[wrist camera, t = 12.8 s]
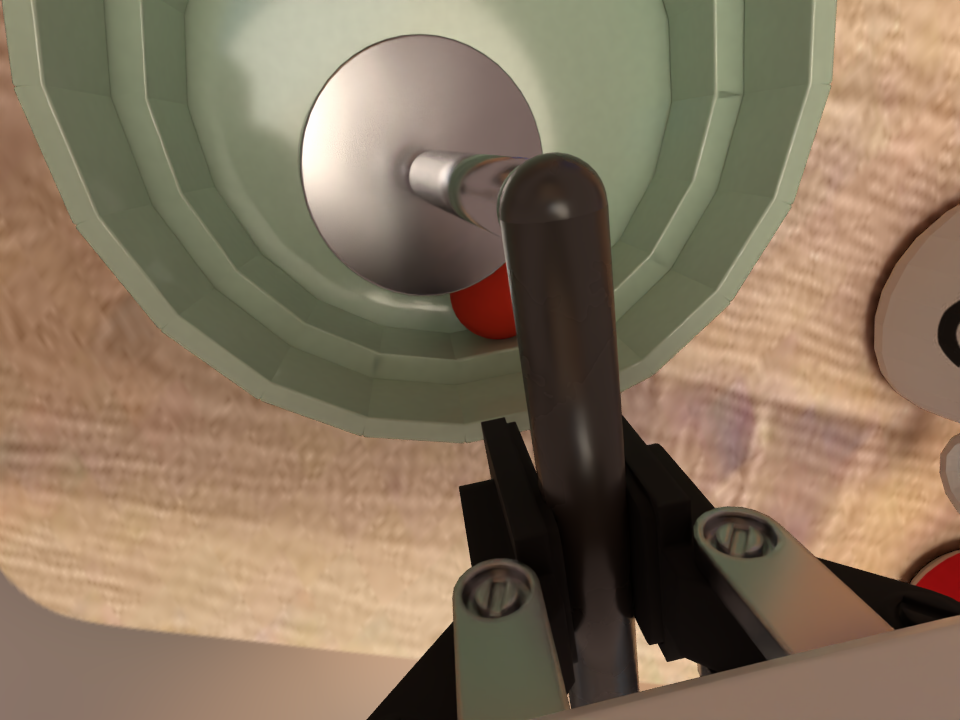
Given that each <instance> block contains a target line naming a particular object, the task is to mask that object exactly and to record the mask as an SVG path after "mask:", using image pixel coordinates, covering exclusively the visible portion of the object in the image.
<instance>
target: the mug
mask: <svg viewBox="0 0 960 720" xmlns="http://www.w3.org/2000/svg"><path fill="white" fill-rule="evenodd" d="M874 350H875V353H876V357H877V360H878V364H879V367H880V371H881V373H882V374H883V376H884V377H885V378H886V380H887V381H888V383H889V384H890V385H891V387H892V388H893V389H894V390H895V391H896V392H897V393H899V394H900V395H901V396H903V397H904V398H906V399H907V400H909V401H910V402H912V403H914V404H915V405H917V406H918V407H920V408H921V409H924V410H926V411H929V412H932V413H934V414H937V415H939V416H942V417H944V418H947V419H950V420H953V421H955V422H958V423H960V204H959V205H957V206H956V207H954V208H952V209H950V210H948V211H947V212H946V213H944V214H943V215H942V216H941V217H940V218H939V219H938V220H936V221H935V222H934V223H933V224H932V225H931V226H930V227H928V228H927V229H926V230H925V231H924V232H923V233H922V234H920V235H919V236H918V237H917V238H916V239H915V240H914V241H913V243H912V244H911V245H910V247H909V248H908V249H907V250H906V252H905V253H904V254H903V255H902V257H901V258H900V259H899V261H898V262H897V263H896V265H895V267H894V268H893V270H892V272H891V274H890V276H889V278H888V280H887V282H886V284H885V286H884V288H883V290H882V292H881V296H880V300H879V304H878V307H877V311H876V315H875V337H874ZM940 476H941V479H942V483H943V486H944V490H945V493H946V495H947V496H948V498H949V499H950V501H951V502H952V504H953V506H954V507H955V509H956V510H957V512H958V513H960V433H959V434H957V435H955V436H953V437H952V438H951V439H950V440H949V442H948V443H947V445H946V446H945V448H944V449H943V451H942V452H941V455H940Z"/></svg>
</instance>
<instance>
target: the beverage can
mask: <svg viewBox="0 0 960 720" xmlns="http://www.w3.org/2000/svg"><path fill="white" fill-rule="evenodd" d="M910 584H912V585H915V586H919V587H922V588H926V589H929V590H933V591H935V592H938V593H941V594H943V595H946V596H949V597H951V598H953V599H955V600H956V601H958V602H960V550H957V551H953V552H950V553H947V554H945V555H942V556H940V557H938V558H936V559H935V560H933V561H932V562H930V563H929V564H927V565H926V566H925V567H924V568H923V569H922V570H920V571H919V572H918V574H917V575H916V576H915V577H914V578H913V580H912V581H911V583H910Z"/></svg>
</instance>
